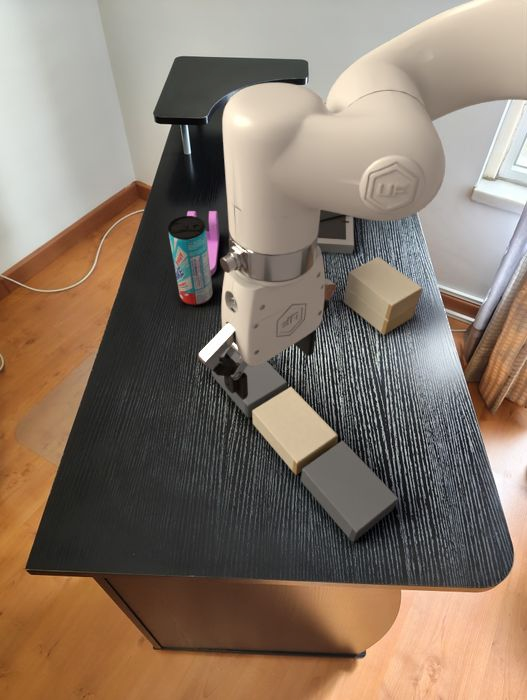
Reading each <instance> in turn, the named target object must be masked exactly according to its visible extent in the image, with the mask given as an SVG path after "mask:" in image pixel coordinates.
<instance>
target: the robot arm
mask: <svg viewBox="0 0 527 700" xmlns="http://www.w3.org/2000/svg"><path fill="white" fill-rule="evenodd" d="M513 100H514V101H515V100H516V101H527V0H470V1H467V2H464V3H461V4H459V5H456V6H455V7H452V8H449V9H447V10H444V11H443V12H440V13H438V14H436V15H434V16H432V17H429V18H428V19H426V20H424V21H422V22H420V23H418V24H417V25H414V26H413V27H411V28H409V29H408V30H406V31H404V32H402V33H400V34H399V35H397V36H395V37H393V38H392V39H390V40H388V41H386V42H384V43H383V44H381V45H379V46H377V47H375V48H374V49H372V50H370V51H369V52H367V53H365V54H364V55H363V56H361V57H360V58H359V59H357V60H355V62H353V63H352V64H351V65H349V66H348V67H347V68H346V69H345V70H344V71H343V72H342V73H341V74H340V75H339V76H338V78H337V79H336V80H335V81H334V83H333V84H332V86H331V88H330V90H329V92H328V93H327V97H326V99H325V101H324V99H323V98H322V97H321V96H320V95H319V94H318V93H316V92H315V91H314V90H312V89H310V88H307V87H305V86H302V85H298V84H295V83H287V82H263V83H258V84H253V85H250V86H246V87H243V88H241V89H240V90H238V91H236V92H235V93H234V94H233V95H232V96H231V97H230V98H229V99H228V101H227V102H226V103H225V104H226V105H225V106H224V108H223V113H222V118H221V120H222V121H221V122H222V143H223V144H222V145H223V159H224V174H225V190H226V191H225V192H226V203H227V205H226V206H227V220H228V222H227V223H228V237H229V238H228V247H229V251H228V252H227V253H226V255H225V256H222V257H221V258H220V260H219V263H220V266H221V268H222V269H223V271H224V274H223V283H222V292H221V308H220V309H221V312H220V313H221V315H220V316H221V317H220V318H221V329H220V331H219V332H218V333H217V334H216V335H215V336H214V337H213V338H212V339H211V340H210V341H209V342H207V344H206V345H205V346H204V348H202V350H201V351H200V352H198V354H197V359H198V361H200V362H201V364H203V365H204V367H206V368H207V369H209V370H210V371H211V370H212V371H213V372H215V373H216V374H217V375H220V376H224V383H225V386H226V388H227V389H228V390H229V391H230V392H231V393H236V394H237V395H238V396H239V397H240V398H241V399H242V400H244V399H245V398H247V396H248V382H247V375H246V374H245V373H244V371H245V369H246V367H247V366H248V365H249V366H256V365H259V364H262V363H264V362H266V361H267V362H268V361H270V360H272V359H273V358H274V357H276V356H277V355H279V354H281V353H282V352H284V351H285V350H287V349H289V348H290V347H292V346H293V345H294V346H295V347H296V348H298V349H299V350H300V351H301V352H303V353H304V354H305V355H306V356H310V357H311V356H312V355H313V354H314V353H315V345H316V337H317V331H316V330H318V329H319V328H320V327H321V325H322V323H323V315H324V314H325V312H326V311H327V310H328V309H329V306H330V301H329V300H331V298H332V297H333V294H334V293H335V291H336V289H337V283H335V282H334V281H332V280H331V279H330V278H328V277H325V276H326V275H325V265H324V264H325V263H324V259H323V255H322V254H323V252H321V249H320V247H319V246H318V245H317V239H318V230H319V220H320V211H321V210H325V211H330V212H334V213H339V214H343V215H347V216H352V217H353V218H356V219H361V220H367V221H375V222H376V221H377V222H391V221H399V220H402V219H405V218H409V217H411V216H414V215H416V214H417V213H419V212H420V211H422V210H424V209H425V208H426V207H427V206H428V205H429V204H430V203H431V202H432V201H433V200H434V199H435V198H436V196H437V195H438V193H439V191H440V189H441V188H442V185H443V182H444V179H445V174H446V155H445V150H444V146H443V144H442V140H441V138H440V136H439V134H438V131H437V128H436V127H435V125H434V123H433V122H434V121H436V120H439V119H440V118H443V117H445V116H447V115H449V114H451V113H454V112H457V111H459V110H462V109H465V108H468V107H472V106H476V105H480V104H484V103H489V102H496V101H497V102H498V101H513ZM235 351H236V352H237V353H238V354H239V355H240V358H239V360H238V361H237V363H236V362H235V361H234V360H233V359H231V358H232V356H233V354H234V352H235Z"/></svg>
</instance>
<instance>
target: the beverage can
mask: <svg viewBox="0 0 527 700" xmlns="http://www.w3.org/2000/svg"><path fill="white" fill-rule="evenodd" d="M206 231H207V230H206V223H205V221H204V220H203V219H201V218H200V217H198V216H197V217H194V216H187V215H182V216H179V217H176V218H174V219H172V220H171V221H170V222H169V223H168V225H167V232H168V238H169V243H170V244H169V245H170V248H171V254H172V261H173V265H174V271H175V277H176V282H177V287H178V294H179V298H180V299H181V301H182V302H183V303H184V304H186V305H188V306H191V307H198V306H204V305H205V304H207V303H209V301H210V300H211V299H212V297H213V284H212V276H211V273H210V264H209V254H208V245H207V236H206Z"/></svg>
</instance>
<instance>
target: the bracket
mask: <svg viewBox="0 0 527 700" xmlns="http://www.w3.org/2000/svg"><path fill="white" fill-rule="evenodd" d="M186 216H194V217H198V216H197V212H196V210H188V211H187V213H186ZM208 230H209V231H208ZM208 230H206V236H207V245H208V254H209V264H210V273H211V277H212V276H214V274H215V273H216V272H217V266H218V265H217V264H218V257H219V254H218V253H219V246H220V228H219V216H218V210H209V211H208Z"/></svg>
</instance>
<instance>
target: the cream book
mask: <svg viewBox="0 0 527 700" xmlns="http://www.w3.org/2000/svg"><path fill="white" fill-rule="evenodd" d="M251 418H252V425H253V426H254V427H255V428H256V429H257V432H259V433H260V434H261V436H262V437H263V438H264V439H265V441H266V442H268V444H269V445H270V446H271V447H272V448H273V450H274V451H275V452H276V454H278V456H279V457H280V458H281V459H282V460H283V461H284V463H285V464H286V465H287V467H288V468H289V469H290V470H291V471H292V472H293V474H294V475H295V476H297V475H299V474H300V473H302V469H303V468H304V467H306V466H307V465H308V464H310V463H311V462H313V461H314V460H316V459H317V458H318V457H320V456H321V455H323V454H324V453H325V452H327V451H328V450H330V449H331V448H333V447H334V446H335V445H337V442H338V438H339V434H338V433H336V432H335V431H334V429H332V427H331V426H330V425H329V424H328V423H327V422H326V421H325V420H324V419H323V418H322V417H321V416H320V415H319V414H318V412H316V411H315V410H314V408H312V407H311V405H309V403H308V402H307V401H305V399H304V397H302V396H301V395H300V394H299V393H298V392H297V391H296V390H295V389H294V388H293V387H292V386H290V387H287V390H285V391H283V392H282V393H280V394H278V395H277V396H275V397H273V398H272V399H270V400H269V401H267V402H265V403H264V404H262V405H260V406H259V407H257V408H256V409H254V410H252V417H251Z"/></svg>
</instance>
